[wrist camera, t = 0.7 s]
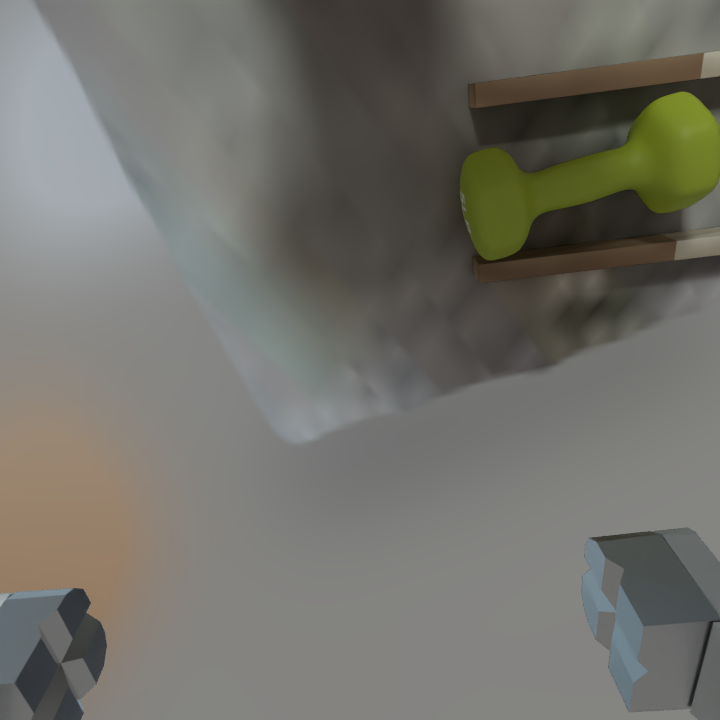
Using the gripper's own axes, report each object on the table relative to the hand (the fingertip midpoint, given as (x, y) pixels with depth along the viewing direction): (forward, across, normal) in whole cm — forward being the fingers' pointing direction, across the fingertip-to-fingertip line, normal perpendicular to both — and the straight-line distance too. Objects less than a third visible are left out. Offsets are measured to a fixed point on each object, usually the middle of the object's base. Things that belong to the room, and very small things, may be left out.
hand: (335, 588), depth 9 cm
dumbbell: (+37, -16, 0) cm, 40 cm away
